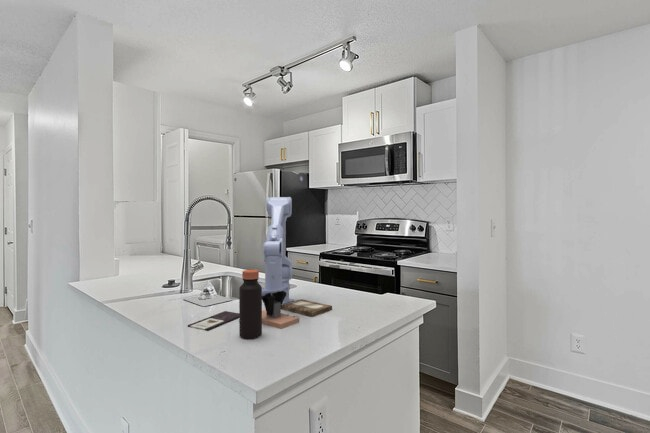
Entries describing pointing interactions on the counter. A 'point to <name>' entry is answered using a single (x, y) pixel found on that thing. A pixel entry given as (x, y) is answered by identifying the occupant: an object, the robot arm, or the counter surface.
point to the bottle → (250, 305)
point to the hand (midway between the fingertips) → (273, 313)
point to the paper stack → (205, 302)
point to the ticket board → (306, 307)
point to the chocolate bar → (215, 321)
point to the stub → (278, 317)
